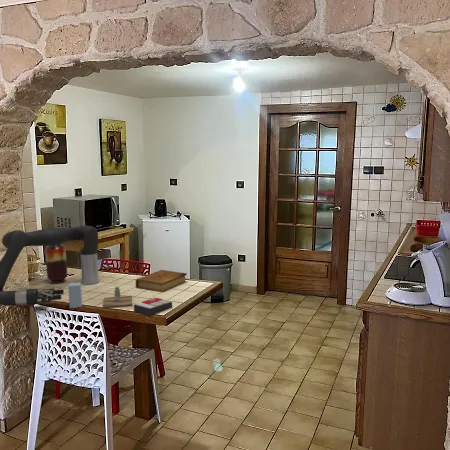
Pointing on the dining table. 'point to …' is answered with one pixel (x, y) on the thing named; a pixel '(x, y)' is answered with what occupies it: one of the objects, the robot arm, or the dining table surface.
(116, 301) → the post stand
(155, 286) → the diary
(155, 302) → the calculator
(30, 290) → the robot arm
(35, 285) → the dining table surface
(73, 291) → the blue-grey rectangular block
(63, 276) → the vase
